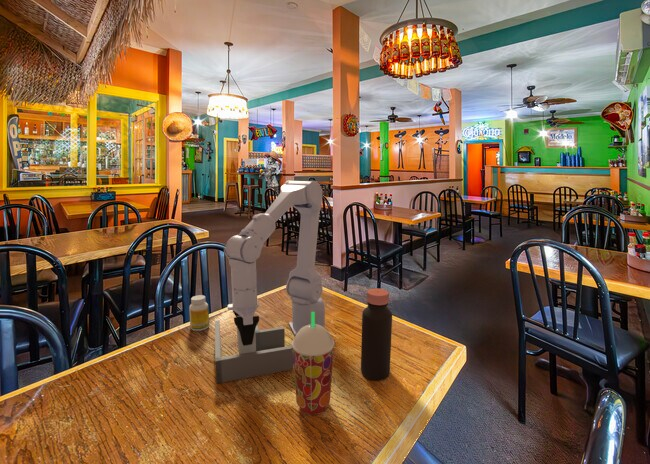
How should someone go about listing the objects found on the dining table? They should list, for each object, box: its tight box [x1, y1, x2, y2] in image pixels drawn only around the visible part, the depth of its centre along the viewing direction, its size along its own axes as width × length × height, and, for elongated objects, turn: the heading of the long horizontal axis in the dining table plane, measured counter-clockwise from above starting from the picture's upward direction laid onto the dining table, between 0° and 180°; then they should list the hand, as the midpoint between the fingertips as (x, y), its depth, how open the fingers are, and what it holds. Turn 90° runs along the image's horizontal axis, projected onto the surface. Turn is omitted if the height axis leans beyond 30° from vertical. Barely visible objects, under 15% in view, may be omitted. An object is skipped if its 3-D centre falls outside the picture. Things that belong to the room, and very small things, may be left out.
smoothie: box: [291, 312, 335, 416], centre depth 65 cm, size 8×8×20 cm
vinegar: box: [360, 287, 393, 382], centre depth 75 cm, size 7×7×20 cm
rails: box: [214, 320, 294, 384], centre depth 85 cm, size 18×21×6 cm
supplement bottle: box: [188, 294, 210, 332], centre depth 98 cm, size 5×5×10 cm
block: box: [235, 314, 256, 354], centre depth 79 cm, size 4×4×8 cm
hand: (246, 339), depth 79 cm, fingers closed on block, 4 cm apart
